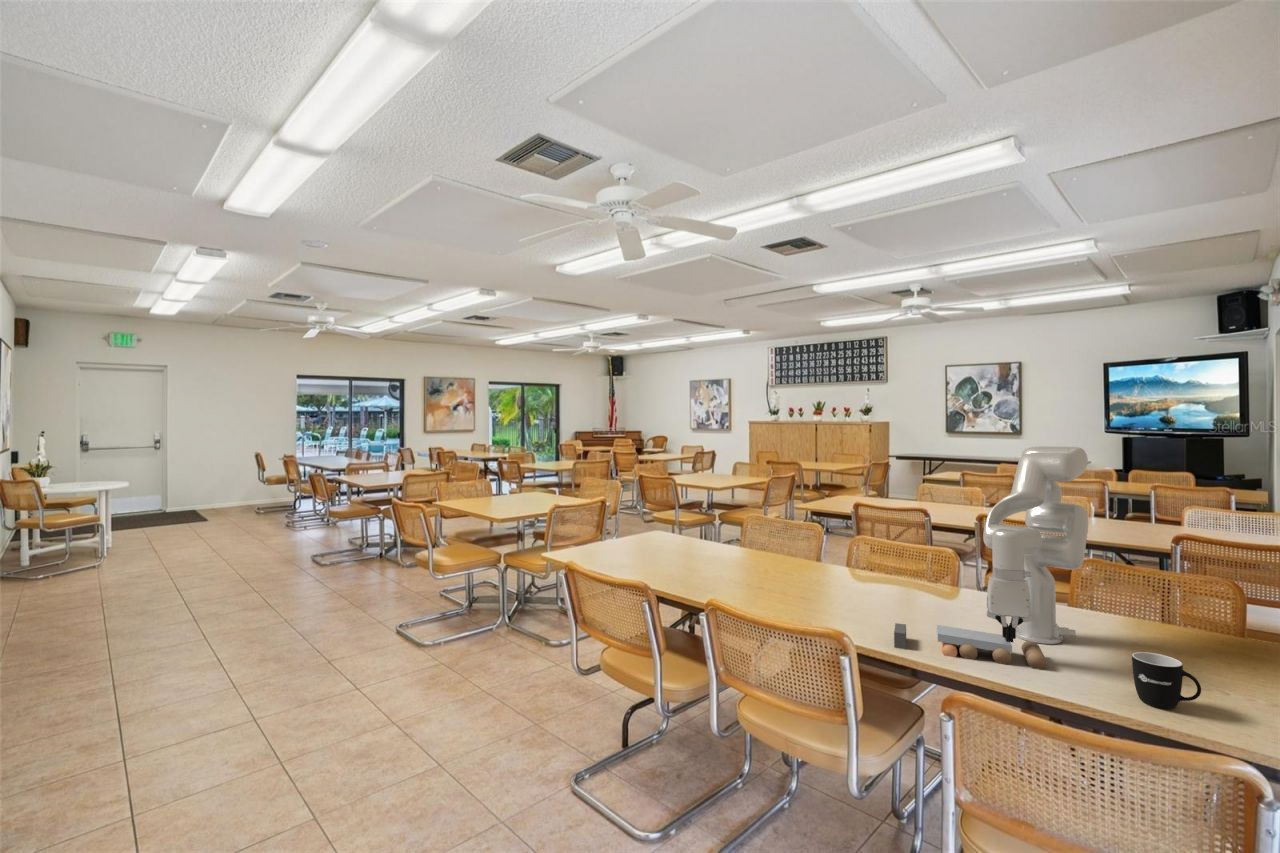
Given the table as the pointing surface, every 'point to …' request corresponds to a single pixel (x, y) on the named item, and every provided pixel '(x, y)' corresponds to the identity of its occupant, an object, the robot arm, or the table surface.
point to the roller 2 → (968, 651)
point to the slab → (972, 638)
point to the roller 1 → (949, 649)
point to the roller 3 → (1034, 655)
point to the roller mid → (1001, 656)
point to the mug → (1160, 679)
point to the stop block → (900, 636)
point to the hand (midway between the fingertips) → (1009, 640)
